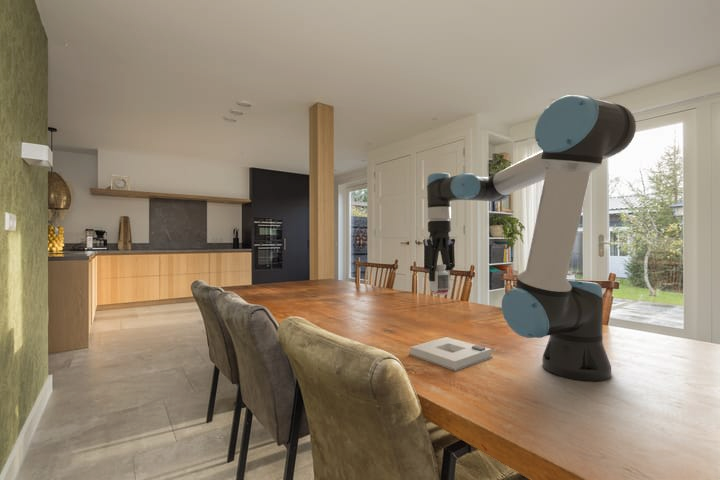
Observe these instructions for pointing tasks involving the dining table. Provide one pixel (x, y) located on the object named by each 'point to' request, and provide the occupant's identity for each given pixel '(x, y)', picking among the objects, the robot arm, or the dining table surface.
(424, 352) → the socket plate
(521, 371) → the dining table surface
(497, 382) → the dining table surface
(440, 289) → the pill bottle
